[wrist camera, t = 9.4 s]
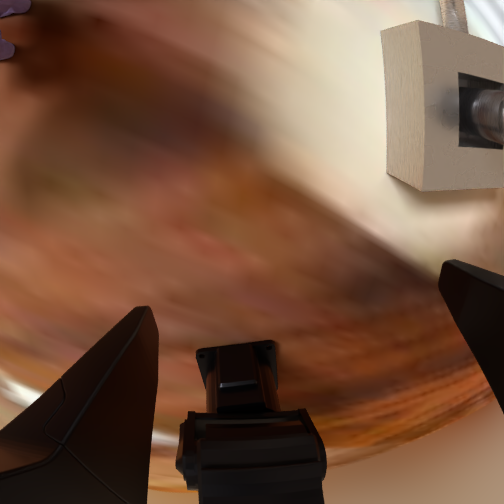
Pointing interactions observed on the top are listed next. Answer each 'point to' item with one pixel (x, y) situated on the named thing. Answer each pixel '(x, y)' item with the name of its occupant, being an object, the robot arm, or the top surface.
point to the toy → (5, 3)
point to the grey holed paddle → (439, 103)
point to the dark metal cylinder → (482, 113)
